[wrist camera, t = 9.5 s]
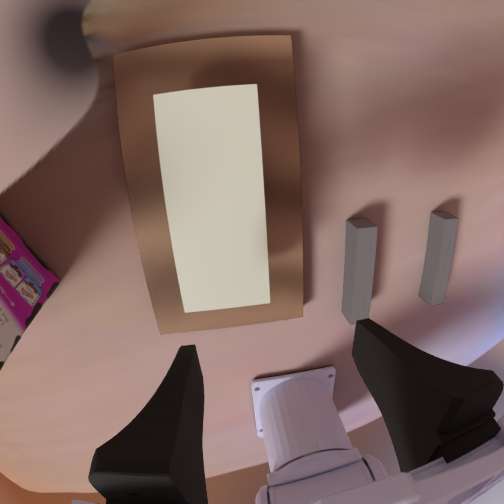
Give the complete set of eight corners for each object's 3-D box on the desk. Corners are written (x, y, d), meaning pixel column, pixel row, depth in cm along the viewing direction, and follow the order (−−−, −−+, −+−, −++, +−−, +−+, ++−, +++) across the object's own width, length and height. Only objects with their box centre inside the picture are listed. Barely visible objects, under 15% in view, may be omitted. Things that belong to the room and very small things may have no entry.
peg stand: (299, 308, 25) (310, 332, 22) (162, 325, 24) (157, 350, 21) (286, 39, 17) (299, 26, 14) (118, 58, 17) (103, 48, 14)
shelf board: (159, 98, 15) (153, 95, 13) (252, 88, 16) (257, 84, 14) (186, 295, 20) (184, 312, 18) (264, 286, 20) (270, 303, 19)
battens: (431, 292, 27) (443, 303, 25) (341, 311, 26) (350, 325, 24) (444, 211, 24) (458, 218, 22) (346, 219, 23) (357, 228, 21)
